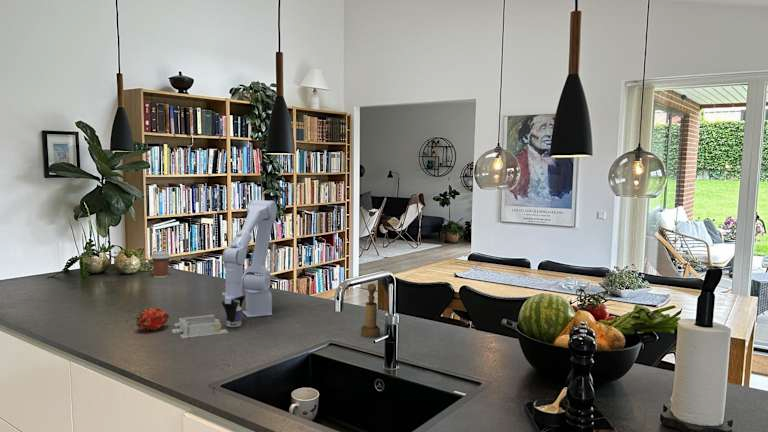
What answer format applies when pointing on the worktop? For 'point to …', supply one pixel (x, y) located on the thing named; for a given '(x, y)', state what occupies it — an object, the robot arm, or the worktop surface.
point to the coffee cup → (160, 264)
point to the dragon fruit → (152, 319)
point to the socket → (199, 326)
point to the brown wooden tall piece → (370, 316)
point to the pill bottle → (237, 318)
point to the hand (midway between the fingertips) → (233, 318)
